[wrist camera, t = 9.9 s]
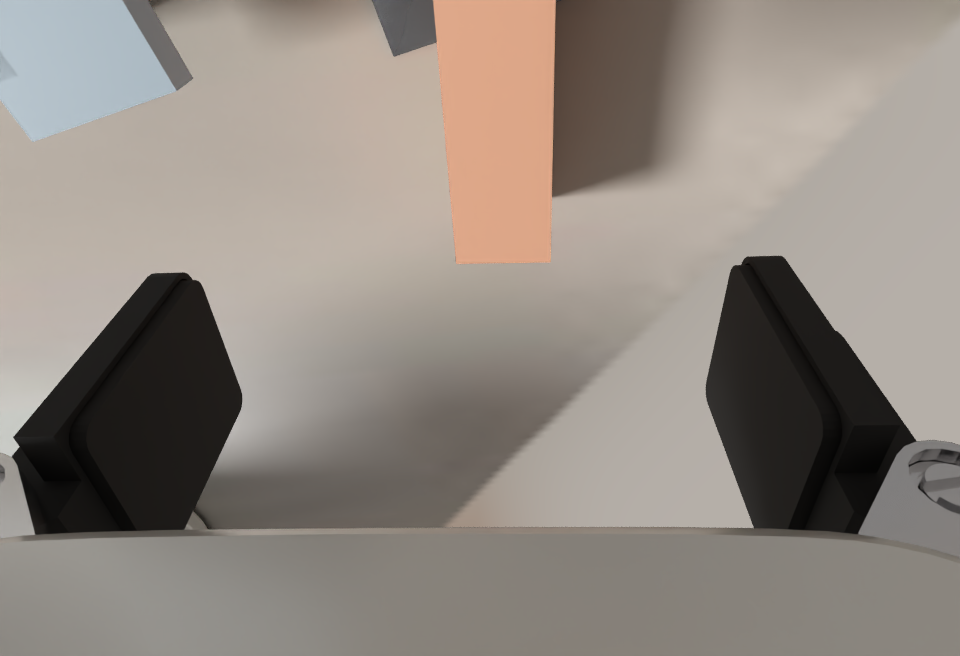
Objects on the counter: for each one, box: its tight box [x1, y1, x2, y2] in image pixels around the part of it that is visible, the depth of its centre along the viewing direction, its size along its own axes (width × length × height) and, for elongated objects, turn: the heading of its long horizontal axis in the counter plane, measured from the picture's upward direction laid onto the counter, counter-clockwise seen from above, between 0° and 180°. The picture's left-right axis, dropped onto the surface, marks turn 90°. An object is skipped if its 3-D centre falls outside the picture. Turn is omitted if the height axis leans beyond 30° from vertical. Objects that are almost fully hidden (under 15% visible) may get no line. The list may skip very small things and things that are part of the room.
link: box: [433, 0, 556, 264], centre depth 17 cm, size 14×6×4 cm, turn 3°
